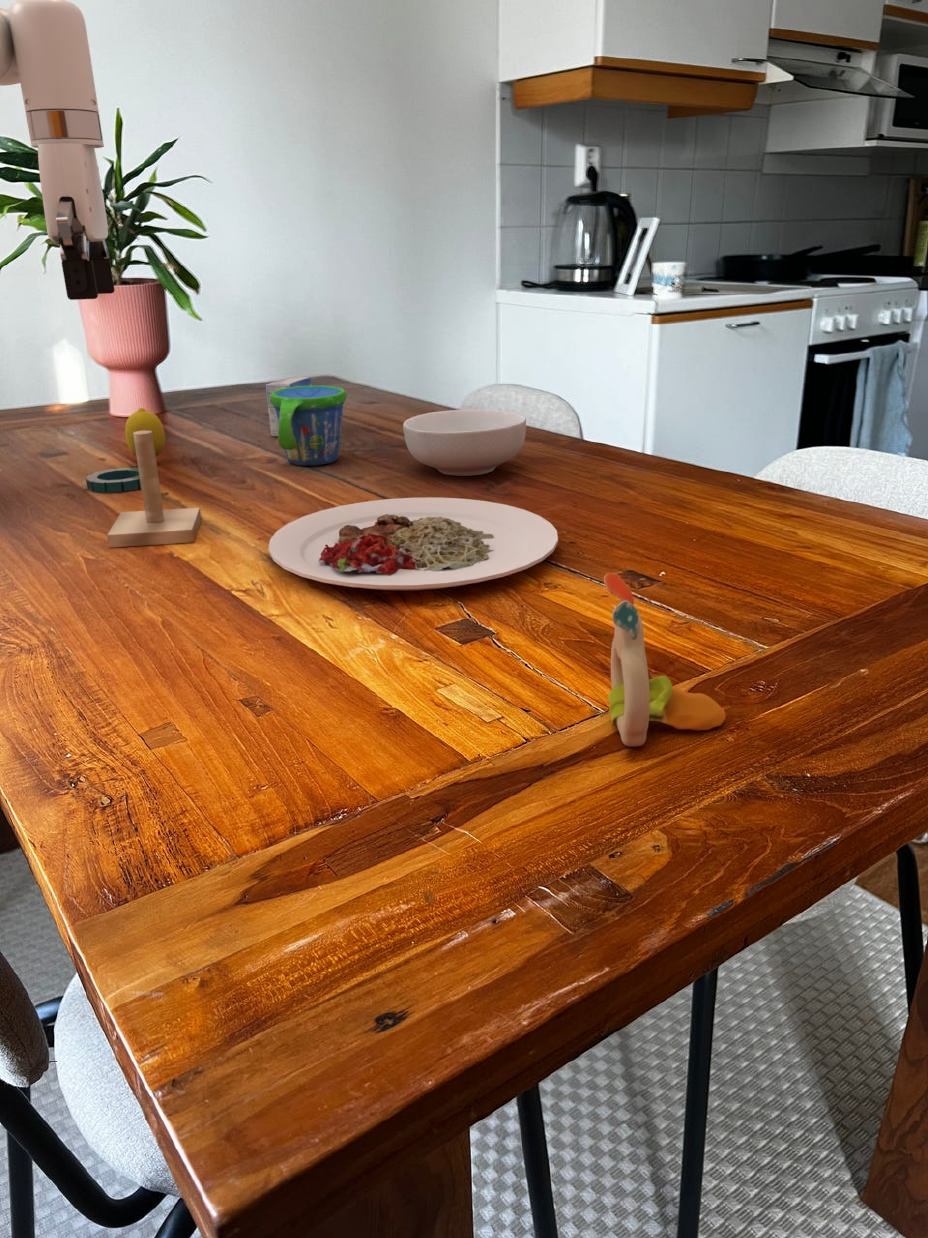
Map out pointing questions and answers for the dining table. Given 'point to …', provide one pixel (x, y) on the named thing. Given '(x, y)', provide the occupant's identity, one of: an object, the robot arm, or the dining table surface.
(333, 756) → the dining table surface
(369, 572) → the plated food
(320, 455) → the snack cup
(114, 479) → the ring
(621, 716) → the rattle
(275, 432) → the medicine box
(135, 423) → the lemon
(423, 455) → the cereal bowl
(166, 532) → the stand
